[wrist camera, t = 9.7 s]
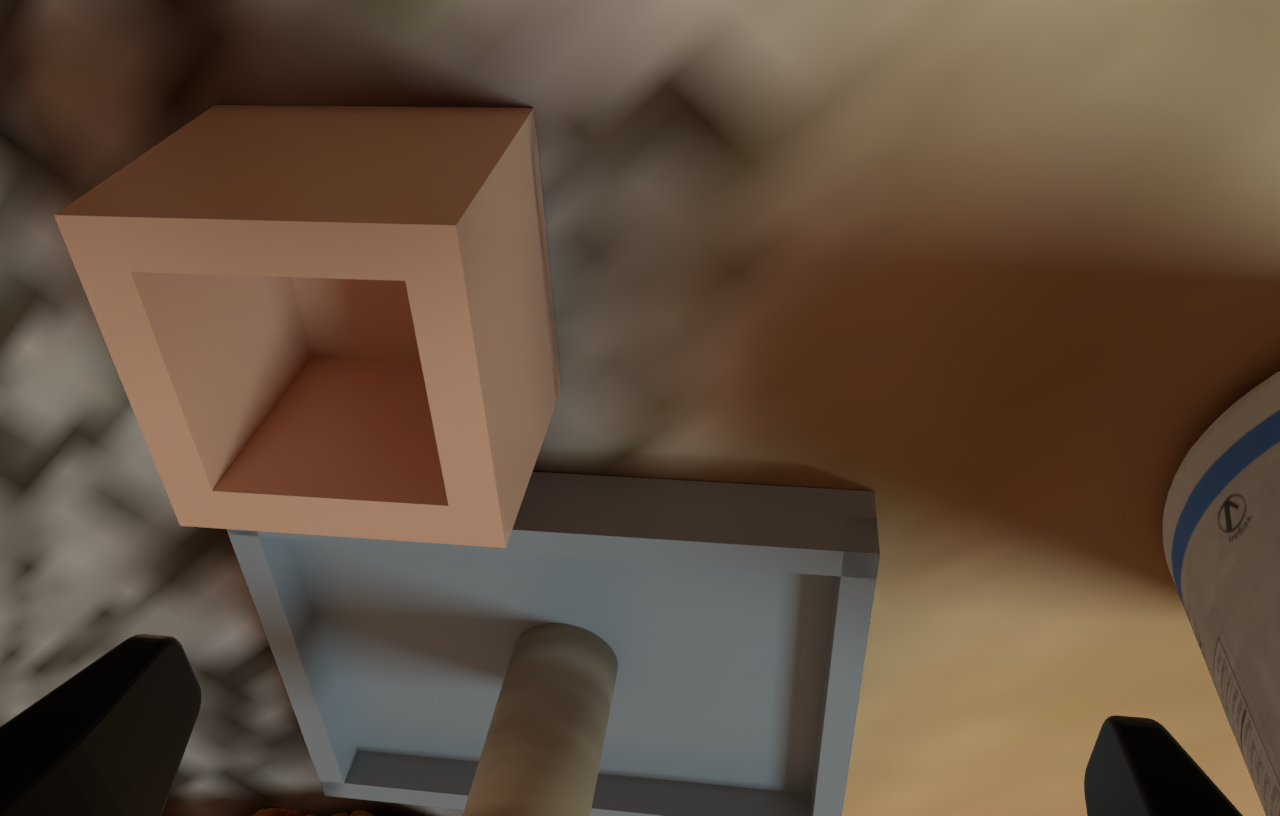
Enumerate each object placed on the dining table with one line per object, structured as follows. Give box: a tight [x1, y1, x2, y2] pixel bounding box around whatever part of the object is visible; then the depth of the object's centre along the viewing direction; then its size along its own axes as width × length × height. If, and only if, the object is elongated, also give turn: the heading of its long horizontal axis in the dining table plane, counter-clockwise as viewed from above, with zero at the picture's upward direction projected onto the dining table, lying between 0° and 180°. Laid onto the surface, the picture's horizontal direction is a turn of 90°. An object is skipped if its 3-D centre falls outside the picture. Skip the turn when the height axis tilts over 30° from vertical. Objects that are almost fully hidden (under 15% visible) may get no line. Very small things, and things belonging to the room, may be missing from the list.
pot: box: [54, 105, 561, 548], centre depth 20 cm, size 7×7×6 cm
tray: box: [227, 472, 880, 816], centre depth 28 cm, size 16×12×2 cm
